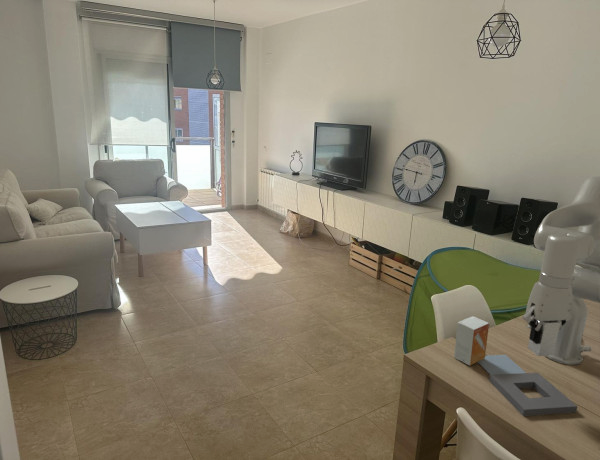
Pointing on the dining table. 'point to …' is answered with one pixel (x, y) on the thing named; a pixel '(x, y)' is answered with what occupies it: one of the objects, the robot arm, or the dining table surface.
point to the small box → (471, 340)
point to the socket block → (527, 406)
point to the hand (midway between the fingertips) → (542, 340)
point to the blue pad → (499, 365)
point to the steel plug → (546, 339)
